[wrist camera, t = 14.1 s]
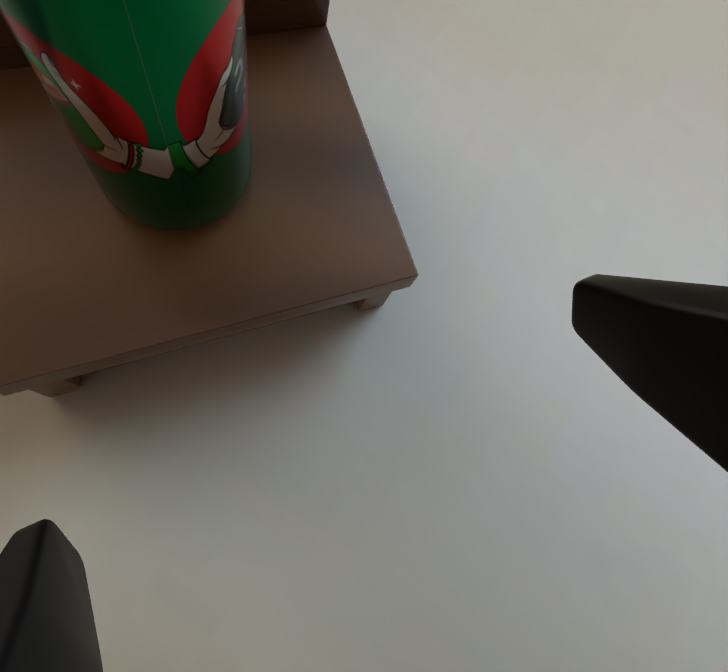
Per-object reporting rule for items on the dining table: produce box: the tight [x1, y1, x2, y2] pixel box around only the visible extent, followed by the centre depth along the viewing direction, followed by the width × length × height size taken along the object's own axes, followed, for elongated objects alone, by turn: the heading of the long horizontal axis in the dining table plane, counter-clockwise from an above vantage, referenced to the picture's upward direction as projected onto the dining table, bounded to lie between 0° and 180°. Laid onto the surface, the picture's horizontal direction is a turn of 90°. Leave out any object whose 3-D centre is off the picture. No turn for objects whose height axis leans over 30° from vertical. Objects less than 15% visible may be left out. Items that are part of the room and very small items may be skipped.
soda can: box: [0, 0, 252, 230], centre depth 13 cm, size 5×5×12 cm
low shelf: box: [0, 0, 418, 397], centre depth 20 cm, size 12×14×8 cm
